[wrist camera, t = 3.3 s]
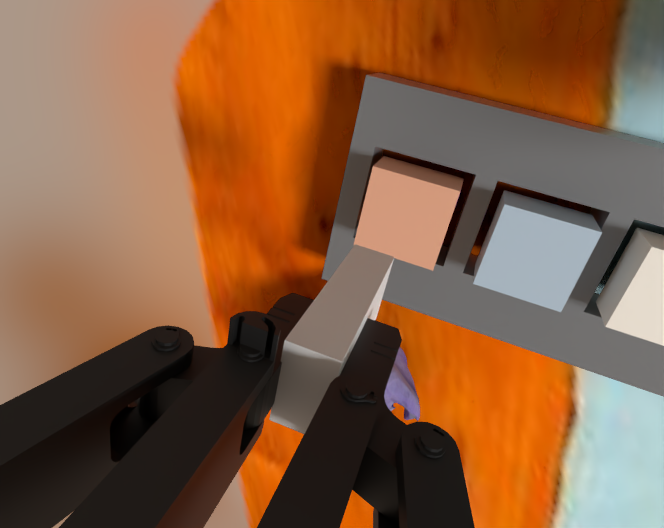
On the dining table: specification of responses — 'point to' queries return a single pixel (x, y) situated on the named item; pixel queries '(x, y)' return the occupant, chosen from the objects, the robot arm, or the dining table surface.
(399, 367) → the flower
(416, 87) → the console
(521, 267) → the blue key
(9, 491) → the robot arm
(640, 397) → the dining table surface
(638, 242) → the ivory key
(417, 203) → the terracotta key
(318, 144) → the dining table surface
